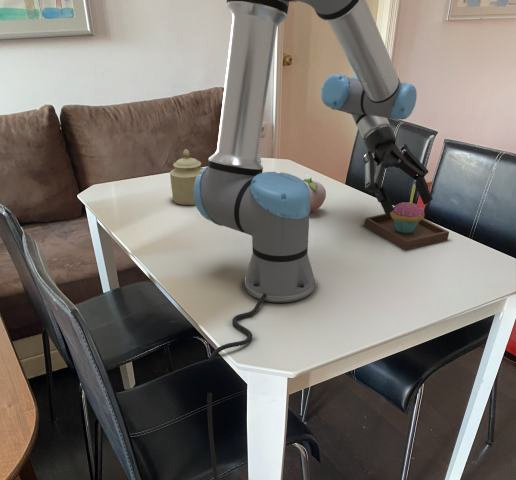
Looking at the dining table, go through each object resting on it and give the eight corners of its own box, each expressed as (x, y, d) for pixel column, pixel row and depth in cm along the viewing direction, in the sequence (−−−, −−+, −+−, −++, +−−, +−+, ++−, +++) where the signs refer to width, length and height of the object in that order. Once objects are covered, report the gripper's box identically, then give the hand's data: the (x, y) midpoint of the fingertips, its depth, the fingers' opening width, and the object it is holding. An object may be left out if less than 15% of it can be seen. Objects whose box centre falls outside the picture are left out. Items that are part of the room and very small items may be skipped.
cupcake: (394, 221, 138) (401, 177, 131) (425, 227, 135) (434, 182, 128) (384, 232, 132) (390, 186, 125) (416, 238, 129) (424, 192, 122)
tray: (447, 240, 130) (449, 231, 128) (405, 250, 125) (406, 241, 124) (403, 217, 143) (404, 209, 141) (364, 225, 138) (364, 217, 137)
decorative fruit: (330, 214, 145) (333, 180, 139) (305, 219, 142) (307, 184, 136) (314, 204, 152) (315, 170, 146) (290, 208, 149) (291, 174, 143)
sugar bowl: (210, 188, 164) (207, 140, 155) (225, 199, 156) (223, 148, 147) (167, 196, 158) (161, 147, 149) (180, 207, 150) (175, 156, 141)
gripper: (402, 135, 140) (433, 204, 138) (332, 149, 129) (364, 223, 128) (420, 118, 133) (453, 190, 131) (347, 131, 122) (382, 209, 121)
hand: (409, 207), depth 129 cm, fingers open, 13 cm apart
